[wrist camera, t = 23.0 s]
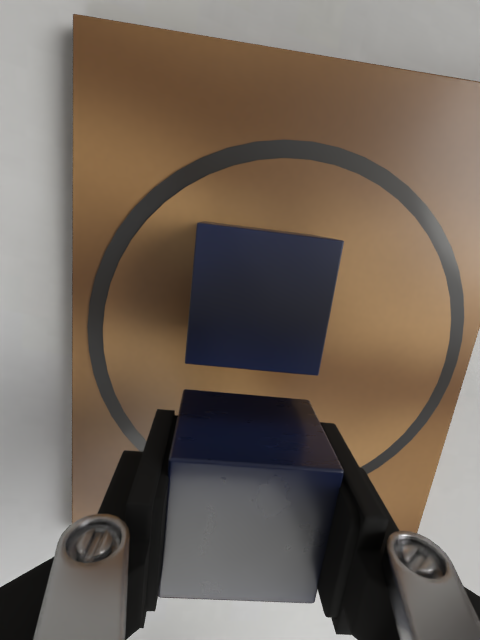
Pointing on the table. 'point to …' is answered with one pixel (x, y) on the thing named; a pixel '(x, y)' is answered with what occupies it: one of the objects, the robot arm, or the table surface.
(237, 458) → the dark blue block
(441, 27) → the table surface
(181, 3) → the table surface
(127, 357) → the board
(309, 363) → the dark blue cube
